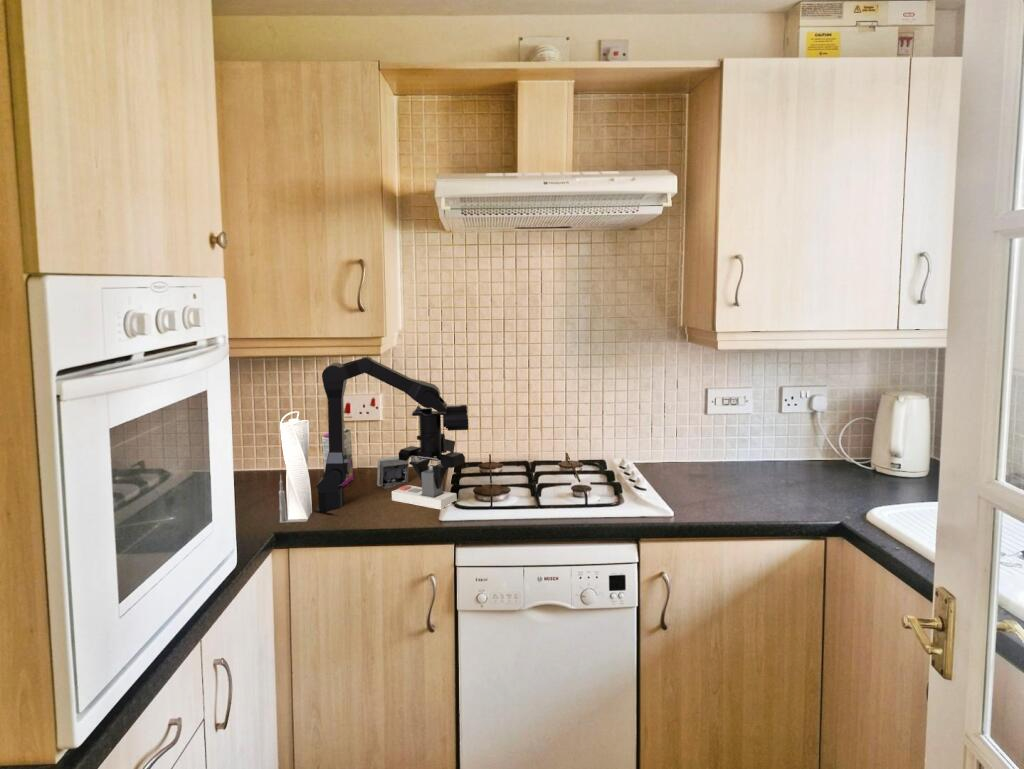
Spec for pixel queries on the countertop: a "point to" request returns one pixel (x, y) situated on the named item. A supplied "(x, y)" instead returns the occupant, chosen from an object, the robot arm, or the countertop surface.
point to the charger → (430, 484)
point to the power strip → (422, 497)
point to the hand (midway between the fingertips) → (432, 487)
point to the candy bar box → (347, 448)
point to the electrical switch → (392, 472)
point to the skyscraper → (295, 471)
